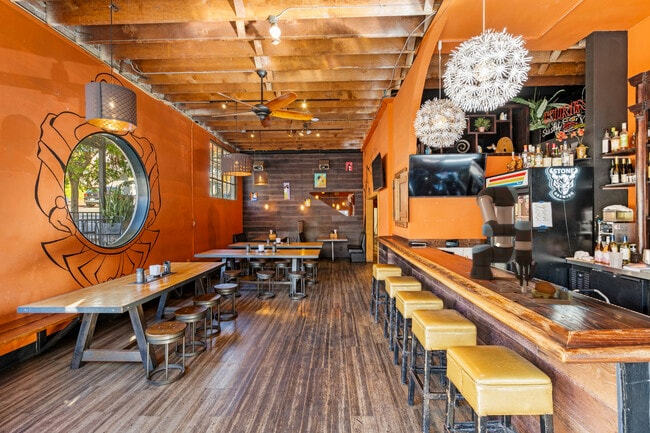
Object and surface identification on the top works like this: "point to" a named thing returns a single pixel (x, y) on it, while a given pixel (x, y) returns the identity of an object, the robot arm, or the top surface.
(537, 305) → the mat
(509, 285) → the top surface
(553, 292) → the cheeseburger
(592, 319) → the top surface
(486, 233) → the robot arm
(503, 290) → the lane
